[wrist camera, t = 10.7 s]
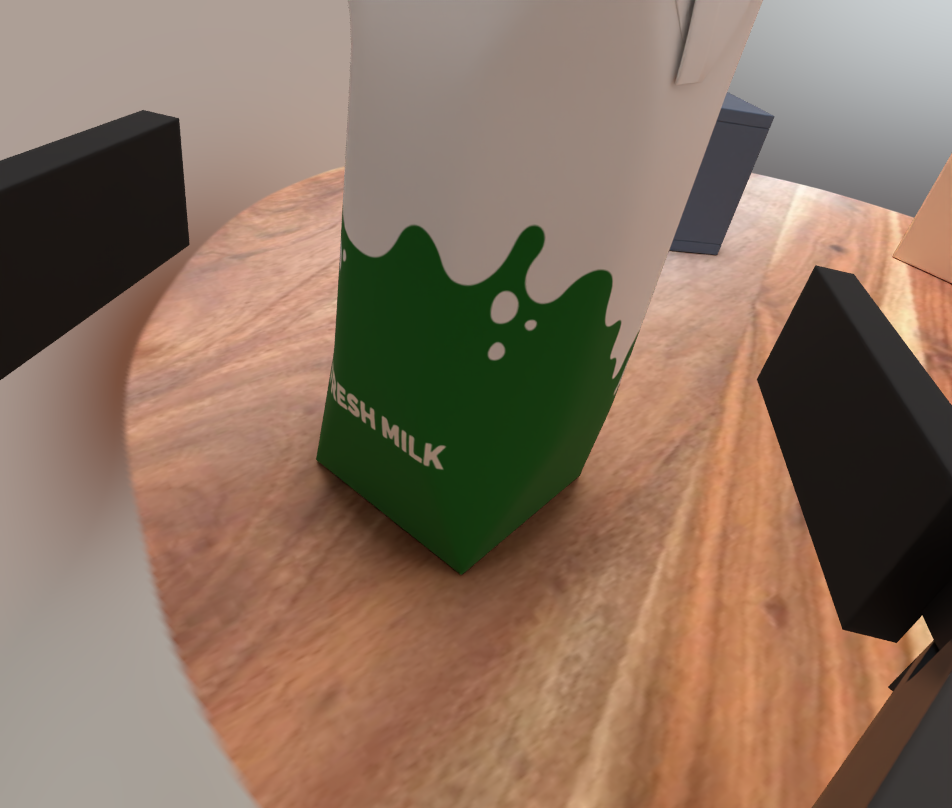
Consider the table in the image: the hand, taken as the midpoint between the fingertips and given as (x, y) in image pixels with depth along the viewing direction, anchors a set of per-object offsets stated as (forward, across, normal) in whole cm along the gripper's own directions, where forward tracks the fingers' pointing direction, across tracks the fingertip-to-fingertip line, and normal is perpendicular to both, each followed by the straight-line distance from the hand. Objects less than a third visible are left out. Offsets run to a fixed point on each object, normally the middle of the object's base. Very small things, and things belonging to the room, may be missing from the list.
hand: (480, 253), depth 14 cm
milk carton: (+5, 0, -11) cm, 12 cm away
